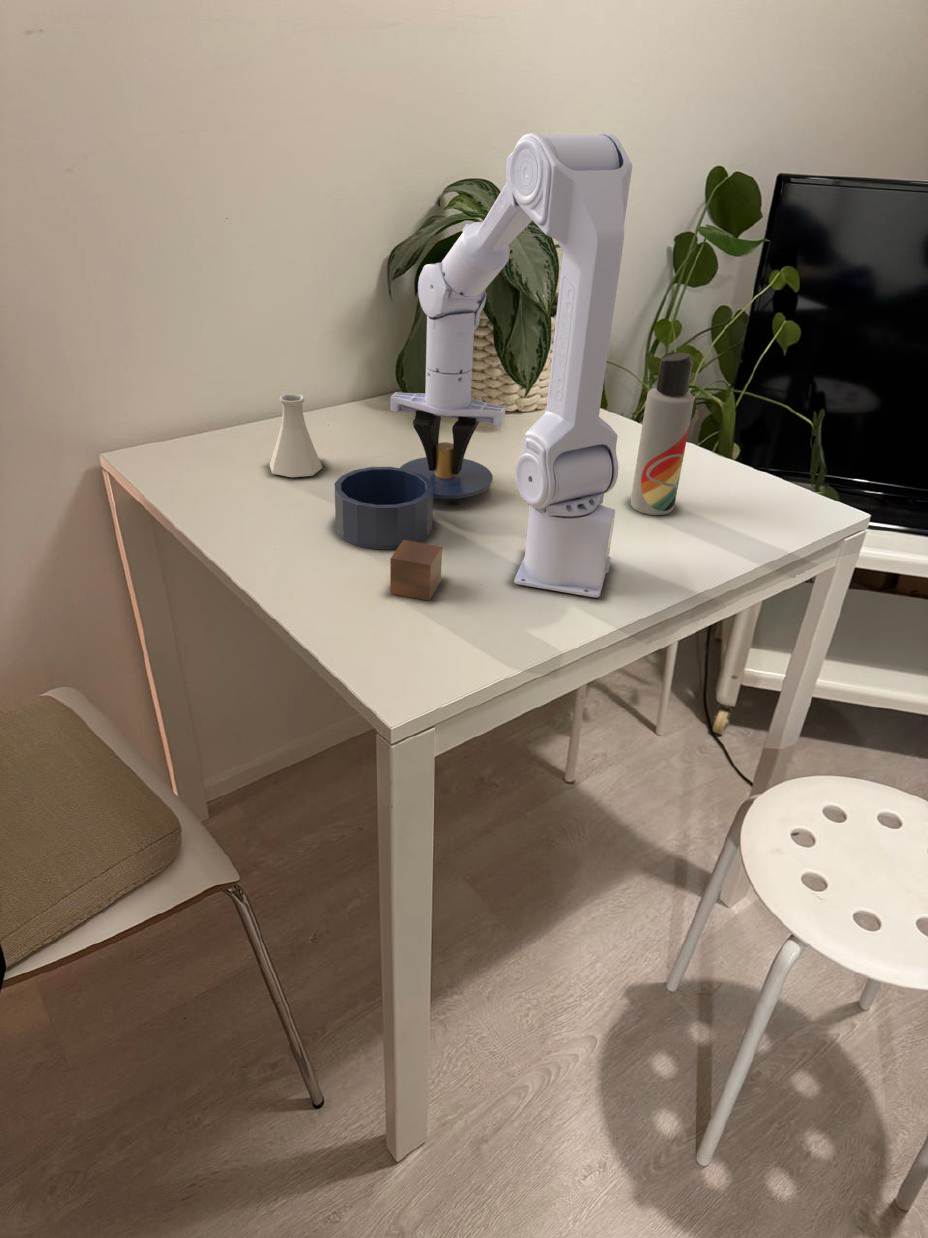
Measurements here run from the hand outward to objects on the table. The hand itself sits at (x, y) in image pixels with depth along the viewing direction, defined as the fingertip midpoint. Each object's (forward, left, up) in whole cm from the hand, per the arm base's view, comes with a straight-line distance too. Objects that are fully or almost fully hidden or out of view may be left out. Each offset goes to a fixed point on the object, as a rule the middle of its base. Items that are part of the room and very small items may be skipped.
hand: (445, 469), depth 119 cm
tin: (+4, +13, -3) cm, 14 cm away
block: (-4, +26, -3) cm, 26 cm away
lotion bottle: (-27, -4, -3) cm, 28 cm away
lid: (0, 0, -1) cm, 1 cm away
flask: (+21, +1, -3) cm, 21 cm away
